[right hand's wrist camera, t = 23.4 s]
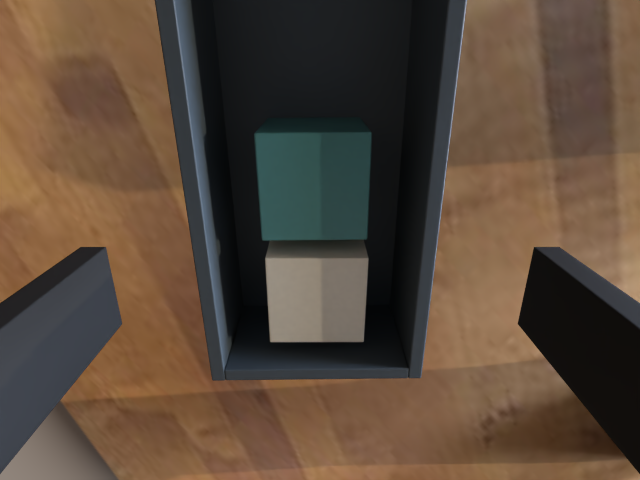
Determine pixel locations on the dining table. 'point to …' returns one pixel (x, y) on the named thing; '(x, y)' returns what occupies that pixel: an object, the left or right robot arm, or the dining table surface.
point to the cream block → (316, 290)
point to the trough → (312, 102)
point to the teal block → (313, 178)
